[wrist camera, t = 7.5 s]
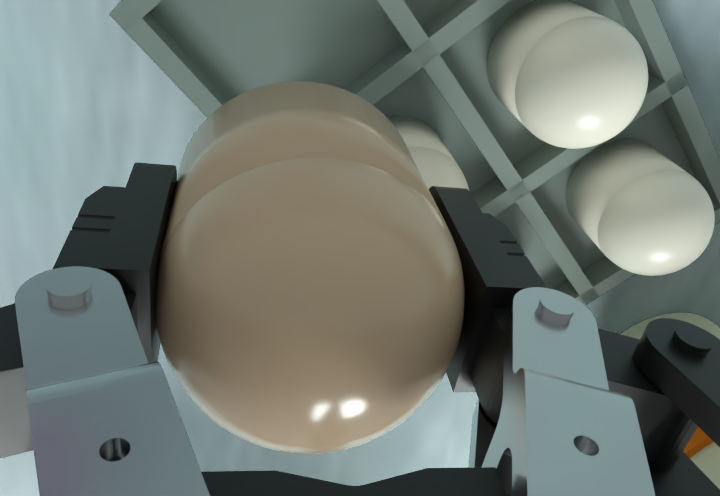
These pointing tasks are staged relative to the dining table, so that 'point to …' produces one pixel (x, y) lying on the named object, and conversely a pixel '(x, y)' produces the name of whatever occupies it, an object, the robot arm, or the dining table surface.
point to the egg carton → (489, 110)
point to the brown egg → (306, 272)
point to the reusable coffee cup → (700, 448)
